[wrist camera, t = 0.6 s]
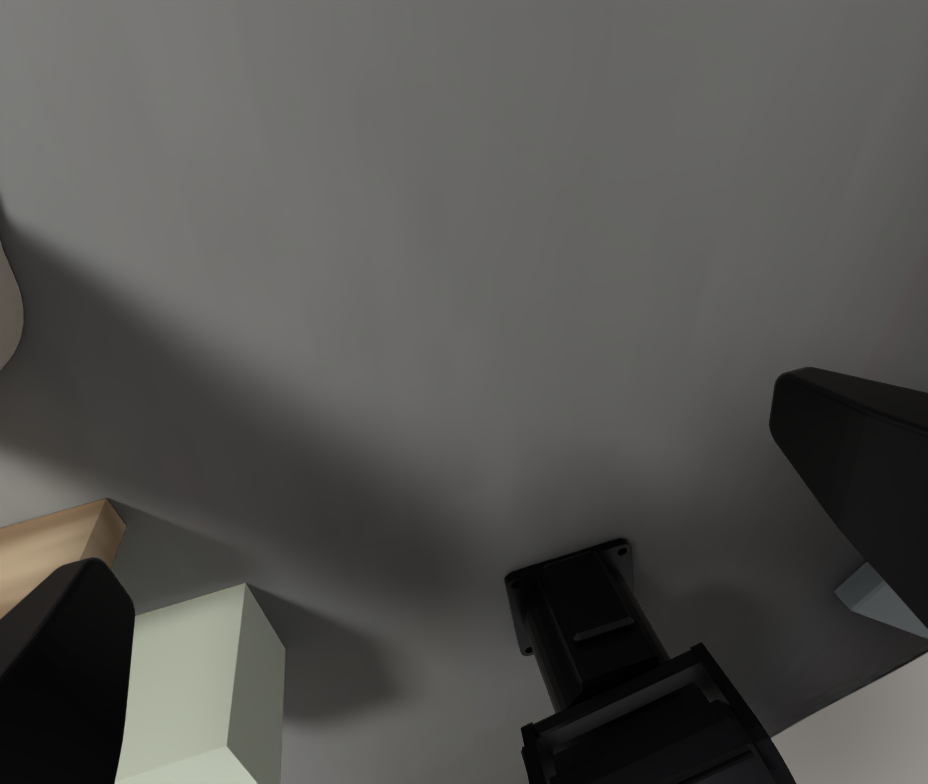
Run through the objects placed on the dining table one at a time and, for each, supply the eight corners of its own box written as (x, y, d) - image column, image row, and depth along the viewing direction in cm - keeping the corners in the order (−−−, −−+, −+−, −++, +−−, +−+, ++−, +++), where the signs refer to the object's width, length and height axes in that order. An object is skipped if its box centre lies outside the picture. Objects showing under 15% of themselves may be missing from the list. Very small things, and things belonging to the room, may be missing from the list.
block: (289, 655, 28) (284, 816, 23) (176, 691, 28) (141, 865, 22) (245, 582, 25) (226, 745, 19) (117, 621, 25) (58, 800, 19)
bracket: (874, 544, 35) (902, 569, 34) (953, 581, 40) (981, 605, 38) (826, 586, 37) (851, 613, 35) (908, 618, 41) (933, 642, 40)
